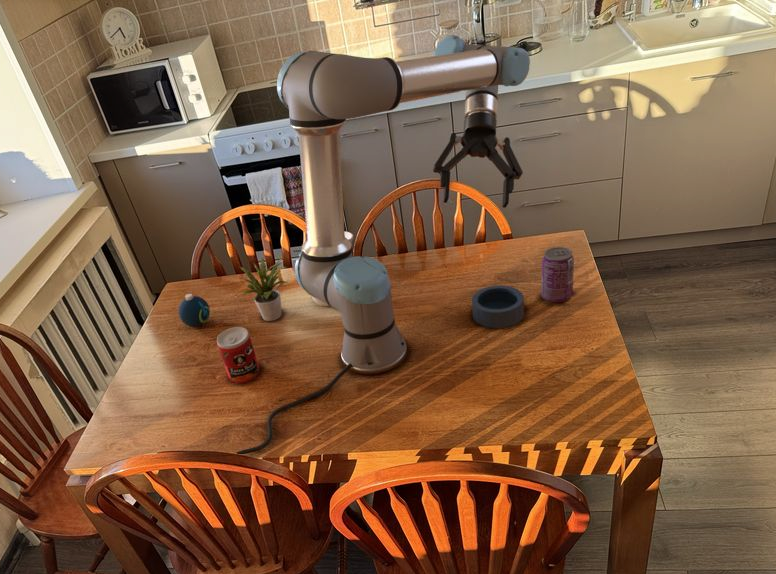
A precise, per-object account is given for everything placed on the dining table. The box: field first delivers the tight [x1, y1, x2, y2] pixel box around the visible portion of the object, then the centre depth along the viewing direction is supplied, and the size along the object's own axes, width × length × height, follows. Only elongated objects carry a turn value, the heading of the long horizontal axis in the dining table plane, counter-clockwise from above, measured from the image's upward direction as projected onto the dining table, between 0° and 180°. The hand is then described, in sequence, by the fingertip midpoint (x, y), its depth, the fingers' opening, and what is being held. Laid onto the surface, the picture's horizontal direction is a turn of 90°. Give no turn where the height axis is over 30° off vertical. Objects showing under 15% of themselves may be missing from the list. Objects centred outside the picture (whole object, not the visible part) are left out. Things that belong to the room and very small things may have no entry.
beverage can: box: [540, 246, 575, 303], centre depth 153 cm, size 7×7×12 cm
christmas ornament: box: [178, 293, 211, 328], centre depth 175 cm, size 8×8×10 cm
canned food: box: [216, 326, 260, 384], centre depth 152 cm, size 8×8×11 cm
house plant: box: [239, 257, 289, 322], centre depth 169 cm, size 14×14×16 cm
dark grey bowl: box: [471, 284, 525, 329], centre depth 154 cm, size 12×12×4 cm
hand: (475, 202), depth 149 cm, fingers open, 13 cm apart
